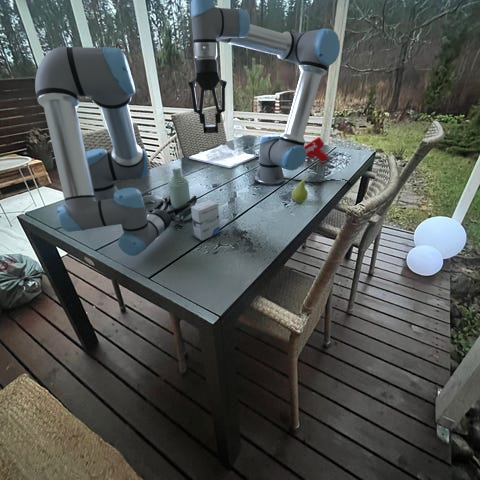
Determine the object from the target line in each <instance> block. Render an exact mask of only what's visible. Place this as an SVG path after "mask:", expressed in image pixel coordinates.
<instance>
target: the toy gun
mask: <svg viewBox="0 0 480 480" xmlns="http://www.w3.org/2000/svg"><path fill="white" fill-rule="evenodd" d="M324 145H325V143H324V141H323V140H322V138H321V137H320V136H317V137H316V138H314V139H313V140H311V141H310V142H308V143H306V144H304V148H305V149H306V153H307V155H306V158H309V160H310V159H314V158H317V159H318V160H319V161H321V162H320V163H321V164H324V162H322V161H325V160H326V162H328V158H329V155H328V154H327V153H325V152H324V151H323V150H322V148H323V147H324Z"/></svg>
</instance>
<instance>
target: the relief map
mask: <svg viewBox="0 0 480 480" xmlns="http://www.w3.org/2000/svg"><path fill="white" fill-rule="evenodd" d="M256 158H257V155H256V154H252V153H251V154H250V153H247V152H245V151H244V150H243V149H242V148H241V147H239V148H237V149H232V148H230V147H229V146H228V145H227V144H222V143H221V144H220V145H218V146H216V147H214V148H212V149H208V150H205V151H199V152H198V153H197V154H192V155H190V156H188V159H190V160H194V161H199V162H202V163H207V164H211V165H215V166H219V167H223V168H228V169H233V168H235V167H237V166H239V165H242V164H245V163H247V162H249V161H252V160H254V159H256Z"/></svg>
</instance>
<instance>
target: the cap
mask: <svg viewBox="0 0 480 480" xmlns="http://www.w3.org/2000/svg"><path fill="white" fill-rule="evenodd" d="M205 125H206V126H205V128H206V133H205V134H215V133H216V124H205ZM216 134H217V133H216Z"/></svg>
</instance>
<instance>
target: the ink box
mask: <svg viewBox="0 0 480 480" xmlns="http://www.w3.org/2000/svg"><path fill="white" fill-rule="evenodd" d="M191 211H192V217H191V220H192V227H193V235H194V237H195V238H197V239H199V240H200V241H206V240H208V239H209V238H211V237H214V236H215V235H217V234H219V233H220V232H221V225H220V212H219V203H218V202H216V201H213V200H212V199H208V200H206V201H203V202H200V203H198V204H195V206H192V207H191Z"/></svg>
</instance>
